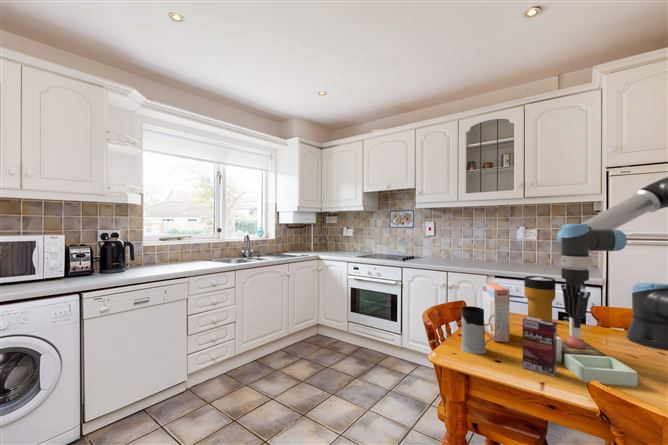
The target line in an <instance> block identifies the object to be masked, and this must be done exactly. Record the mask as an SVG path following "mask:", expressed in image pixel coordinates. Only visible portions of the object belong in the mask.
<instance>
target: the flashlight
mask: <svg viewBox="0 0 668 445" xmlns="http://www.w3.org/2000/svg"><path fill="white" fill-rule="evenodd" d="M523 281H524V284H523V285H524V287H523V288H524V296H525V298H527V317H531V318H536V319H542V320H547V321H552V322H553V302H554V300H555V299H556V279H555V278H553V277H547V276H541V275H540V276H537V275H533V276H532V275H529V276H528V275H527V276H524V279H523Z"/></svg>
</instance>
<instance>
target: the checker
mask: <svg viewBox="0 0 668 445" xmlns="http://www.w3.org/2000/svg"><path fill="white" fill-rule="evenodd" d="M561 342H562V364H564V354H574V355H590V356H605V357H606V353H604V352H602V351H600V350H599V349H597V348H596V347H594V346H592V345H591V344H589V343H588V342H585V349H584V350H578V349H572V348H569V347H567V346H566V341H565V340H564V341H563V340H561Z"/></svg>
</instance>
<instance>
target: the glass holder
mask: <svg viewBox="0 0 668 445" xmlns="http://www.w3.org/2000/svg"><path fill="white" fill-rule="evenodd" d="M492 316H499V315H496V314H494V315H491V316H490V318H489V324H490V319H491V317H492ZM499 317H500V316H499ZM500 318H501V317H500ZM501 321H502V318H501ZM489 324H484V310H483V308H481V307H477V306H471V305H470V306H469V305H466V306H463V307H461V345H460V349H461V350H462V351H463V352H466V353H469V354H473V355H484V354H485V353H487V350H486V345H487V343H489V342H491V341H493V339H494V338H495V337H497V336H498V335H499V333H500V332H501V330H502V326H503V321H502V324H501V328H500V331H499V332H498V334H497V335H495V336H494V337H493V338H491V337H490V338H489V339H488V340H486V339H485V338H486V334H485V333H486V332H485V326H488V325H489Z"/></svg>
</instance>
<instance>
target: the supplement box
mask: <svg viewBox="0 0 668 445" xmlns="http://www.w3.org/2000/svg"><path fill="white" fill-rule="evenodd" d="M557 324H558V322H557V321H553V320H552V321H547V320H542V319H536V318H531V317H528V316H525V317H524V318H523V319H522V368H524V369H527V370H530V371H534V372H537V373H540V374H545V375H547V376H550V377H554V376H555V374H556V372H557V363H556V345H557V344H556V343H557V342H556V341H557V335H558V333H557Z"/></svg>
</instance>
